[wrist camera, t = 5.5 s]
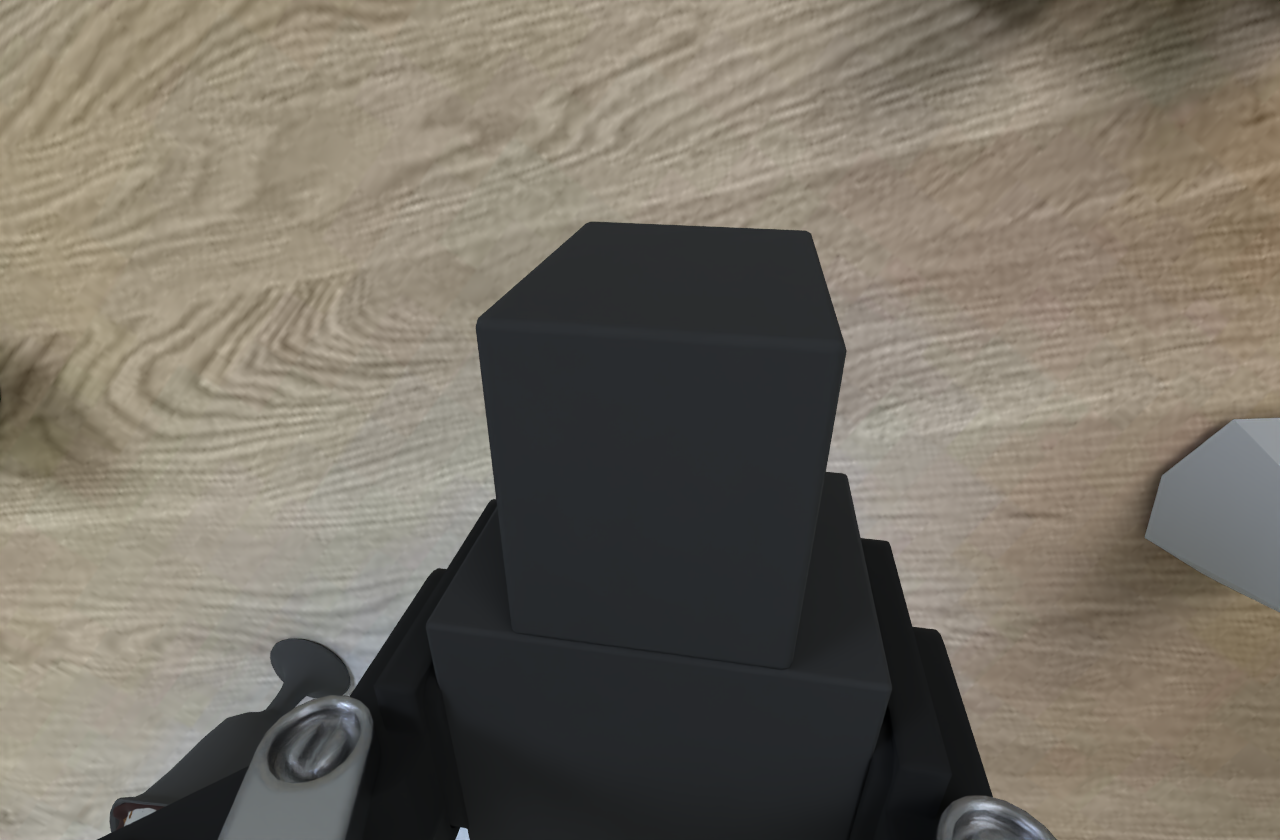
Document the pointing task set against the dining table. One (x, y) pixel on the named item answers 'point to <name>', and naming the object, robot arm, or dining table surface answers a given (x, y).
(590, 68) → the dining table surface
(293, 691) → the sundae
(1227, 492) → the flask
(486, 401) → the pad
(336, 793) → the robot arm
